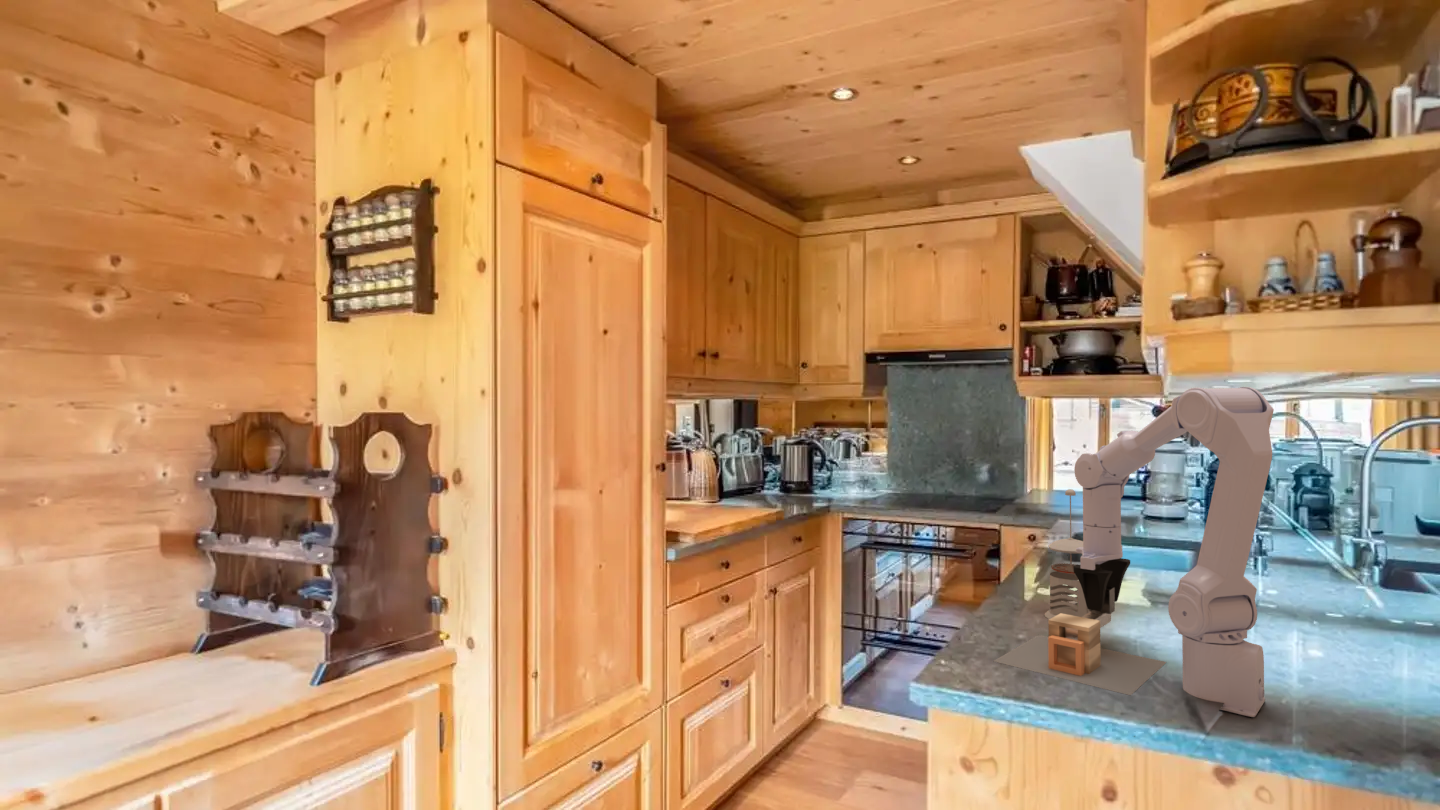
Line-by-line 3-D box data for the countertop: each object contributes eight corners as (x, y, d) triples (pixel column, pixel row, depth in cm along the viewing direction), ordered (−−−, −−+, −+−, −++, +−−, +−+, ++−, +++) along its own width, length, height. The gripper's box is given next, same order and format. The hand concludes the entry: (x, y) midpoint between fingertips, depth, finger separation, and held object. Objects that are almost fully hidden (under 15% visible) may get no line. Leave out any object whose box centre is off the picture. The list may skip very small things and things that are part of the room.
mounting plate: (1166, 668, 117) (1166, 661, 117) (1130, 702, 105) (1130, 695, 105) (1038, 640, 131) (1038, 634, 131) (993, 667, 119) (992, 661, 119)
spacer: (1084, 673, 113) (1084, 641, 113) (1081, 675, 112) (1080, 644, 112) (1052, 665, 116) (1051, 635, 116) (1048, 668, 115) (1048, 637, 115)
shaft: (1114, 621, 126) (1114, 587, 125) (1082, 643, 115) (1081, 605, 115) (1095, 617, 128) (1095, 584, 128) (1062, 638, 117) (1061, 602, 117)
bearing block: (1100, 665, 116) (1100, 620, 116) (1089, 674, 113) (1088, 627, 113) (1061, 656, 120) (1060, 613, 120) (1048, 664, 117) (1048, 620, 117)
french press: (1062, 607, 152) (1061, 485, 152) (1119, 621, 142) (1118, 490, 142) (1033, 615, 146) (1032, 488, 146) (1090, 630, 137) (1089, 494, 136)
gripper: (1091, 517, 134) (1092, 592, 134) (1061, 527, 123) (1061, 609, 123) (1135, 521, 129) (1135, 599, 129) (1106, 532, 118) (1107, 618, 118)
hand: (1102, 605), depth 126 cm, fingers open, 7 cm apart
